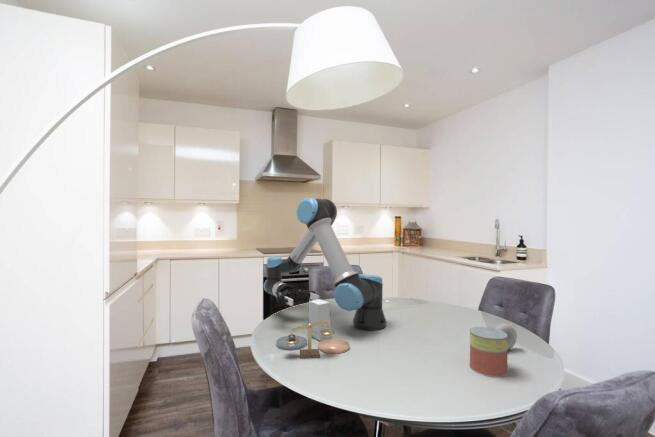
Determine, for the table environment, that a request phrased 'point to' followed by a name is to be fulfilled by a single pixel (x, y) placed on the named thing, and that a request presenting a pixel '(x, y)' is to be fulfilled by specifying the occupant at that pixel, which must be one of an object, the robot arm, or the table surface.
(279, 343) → the slate dish
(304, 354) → the balance
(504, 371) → the canned food
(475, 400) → the table surface
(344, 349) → the terracotta dish
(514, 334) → the donut
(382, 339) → the table surface
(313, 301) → the skincare box
